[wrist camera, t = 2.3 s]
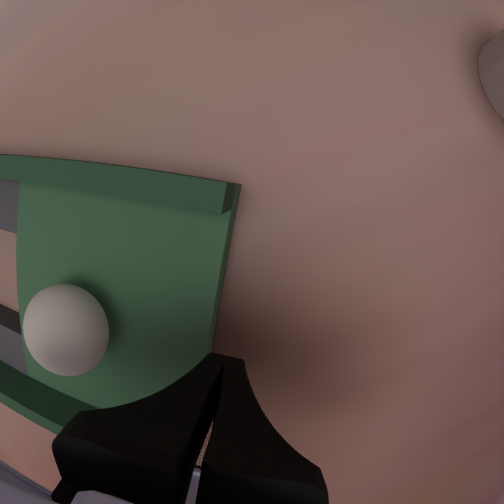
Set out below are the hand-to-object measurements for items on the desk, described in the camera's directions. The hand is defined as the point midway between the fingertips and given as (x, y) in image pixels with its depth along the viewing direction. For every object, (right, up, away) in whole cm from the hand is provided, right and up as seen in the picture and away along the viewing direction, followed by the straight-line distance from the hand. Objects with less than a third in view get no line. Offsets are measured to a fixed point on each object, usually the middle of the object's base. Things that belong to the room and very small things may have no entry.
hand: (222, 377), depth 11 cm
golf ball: (-7, +1, 0) cm, 7 cm away
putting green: (-10, +4, +4) cm, 12 cm away
